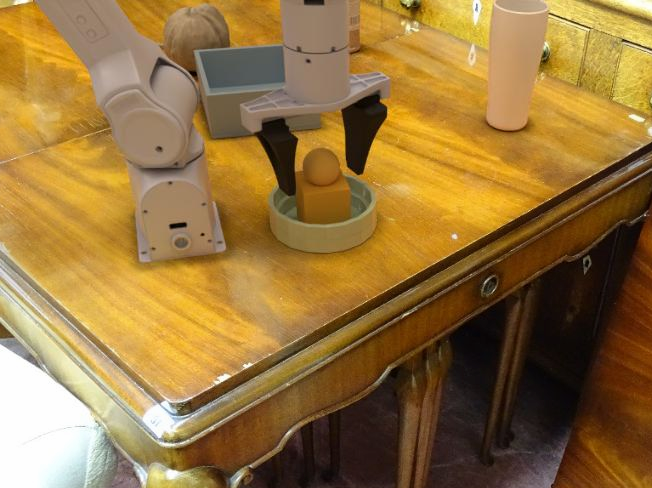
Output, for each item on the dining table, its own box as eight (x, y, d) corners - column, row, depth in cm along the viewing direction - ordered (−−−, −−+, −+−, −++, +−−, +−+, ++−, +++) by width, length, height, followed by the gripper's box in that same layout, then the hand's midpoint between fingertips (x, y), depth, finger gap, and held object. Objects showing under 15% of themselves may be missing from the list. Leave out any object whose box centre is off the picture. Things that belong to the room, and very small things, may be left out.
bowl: (389, 248, 76) (389, 218, 74) (281, 264, 73) (278, 233, 71) (361, 194, 84) (361, 166, 82) (262, 207, 81) (259, 177, 79)
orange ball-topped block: (351, 232, 77) (350, 158, 72) (306, 238, 76) (301, 164, 71) (340, 208, 81) (338, 136, 75) (296, 214, 79) (291, 141, 74)
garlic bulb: (229, 79, 112) (246, 10, 107) (215, 93, 104) (233, 20, 100) (164, 54, 110) (179, -16, 105) (146, 68, 103) (161, -8, 98)
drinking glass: (539, 133, 97) (558, 12, 88) (488, 136, 96) (501, 14, 87) (523, 110, 102) (539, -7, 93) (474, 113, 101) (485, -6, 92)
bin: (320, 128, 96) (319, 85, 92) (212, 139, 92) (206, 95, 89) (298, 82, 106) (295, 42, 102) (199, 91, 102) (193, 50, 99)
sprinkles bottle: (350, 41, 119) (348, -53, 110) (366, 50, 116) (366, -45, 107) (324, 46, 117) (321, -49, 108) (340, 56, 114) (338, -41, 105)
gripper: (361, 14, 72) (362, 146, 81) (217, 41, 65) (235, 182, 74) (404, 38, 68) (400, 174, 77) (256, 70, 61) (270, 216, 70)
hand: (322, 180), depth 75 cm, fingers open, 7 cm apart
